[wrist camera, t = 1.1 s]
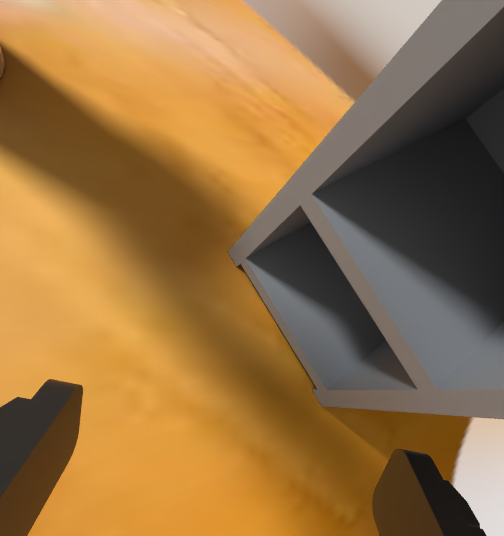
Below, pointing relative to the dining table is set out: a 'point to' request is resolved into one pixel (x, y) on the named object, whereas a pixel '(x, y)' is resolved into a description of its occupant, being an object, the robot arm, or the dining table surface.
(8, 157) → the dining table surface
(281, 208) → the tall grey box
